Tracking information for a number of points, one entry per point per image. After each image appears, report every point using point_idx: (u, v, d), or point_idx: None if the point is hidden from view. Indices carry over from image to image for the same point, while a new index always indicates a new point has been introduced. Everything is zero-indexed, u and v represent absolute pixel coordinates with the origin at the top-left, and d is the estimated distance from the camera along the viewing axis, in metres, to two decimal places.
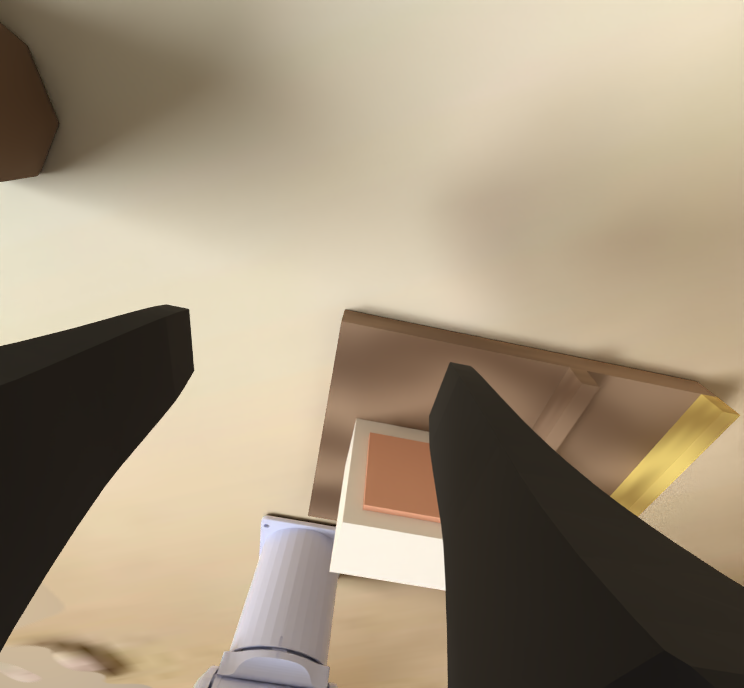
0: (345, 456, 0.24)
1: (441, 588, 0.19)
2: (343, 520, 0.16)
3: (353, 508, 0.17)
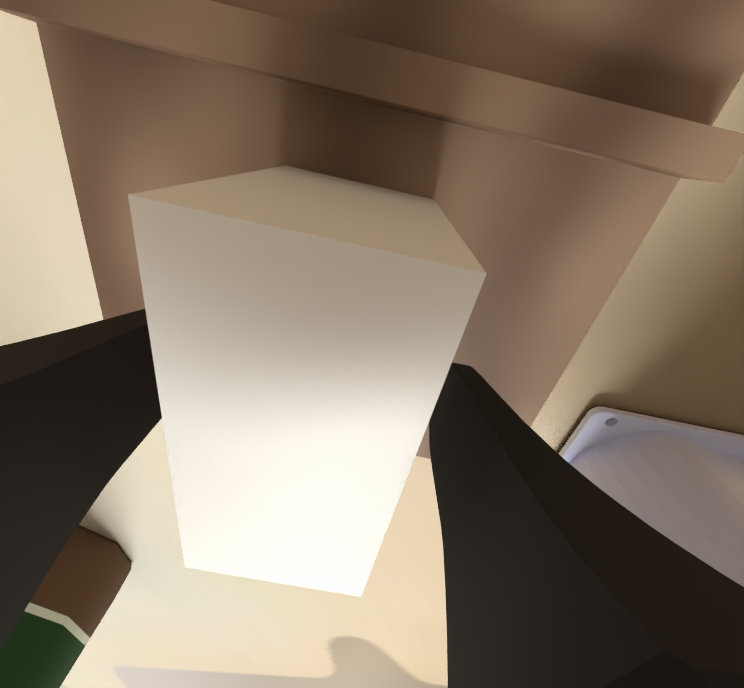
0: None
1: (419, 427, 0.06)
2: None
3: None
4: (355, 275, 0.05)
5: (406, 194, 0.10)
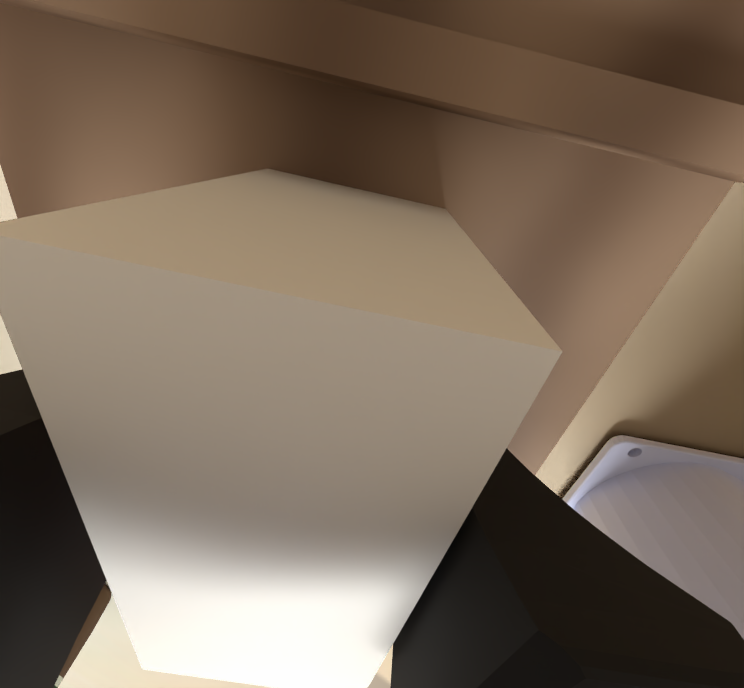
0: None
1: (442, 540, 0.04)
2: None
3: None
4: (351, 352, 0.03)
5: (413, 203, 0.08)
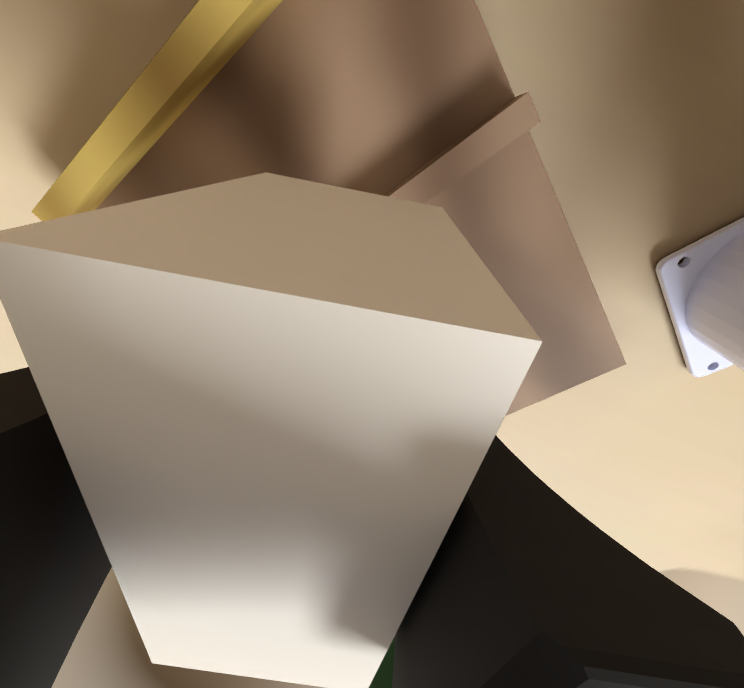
0: None
1: (437, 530, 0.04)
2: None
3: None
4: (339, 346, 0.03)
5: (409, 202, 0.09)
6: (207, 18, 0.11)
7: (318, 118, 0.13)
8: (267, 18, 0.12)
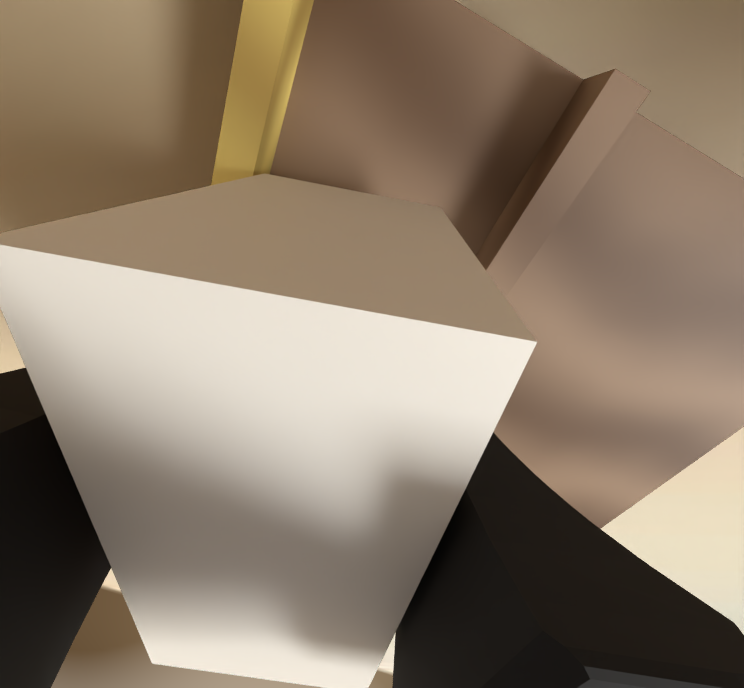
0: (689, 427, 0.15)
1: (434, 531, 0.04)
2: None
3: None
4: (334, 347, 0.03)
5: (407, 203, 0.09)
6: None
7: None
8: None
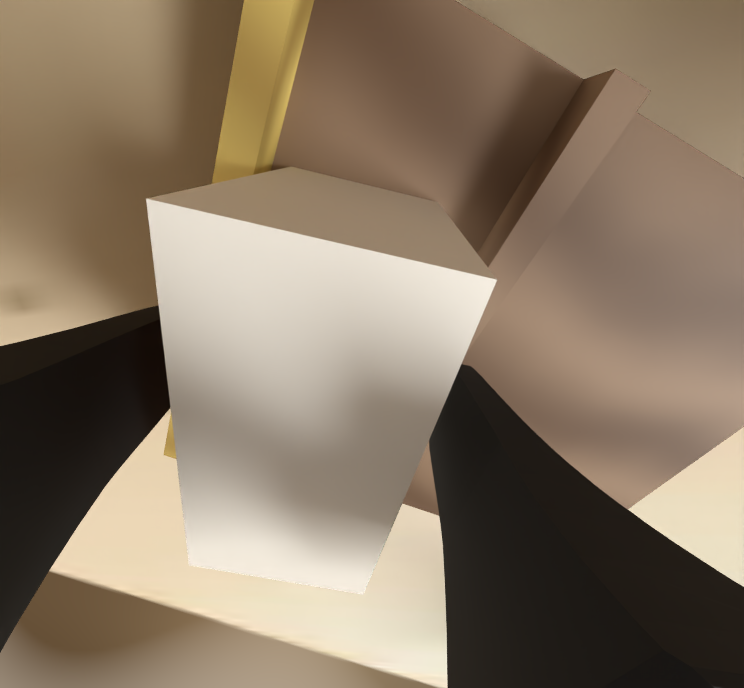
0: (689, 427, 0.15)
1: (426, 428, 0.06)
2: None
3: None
4: (368, 280, 0.05)
5: (411, 197, 0.10)
6: None
7: None
8: None
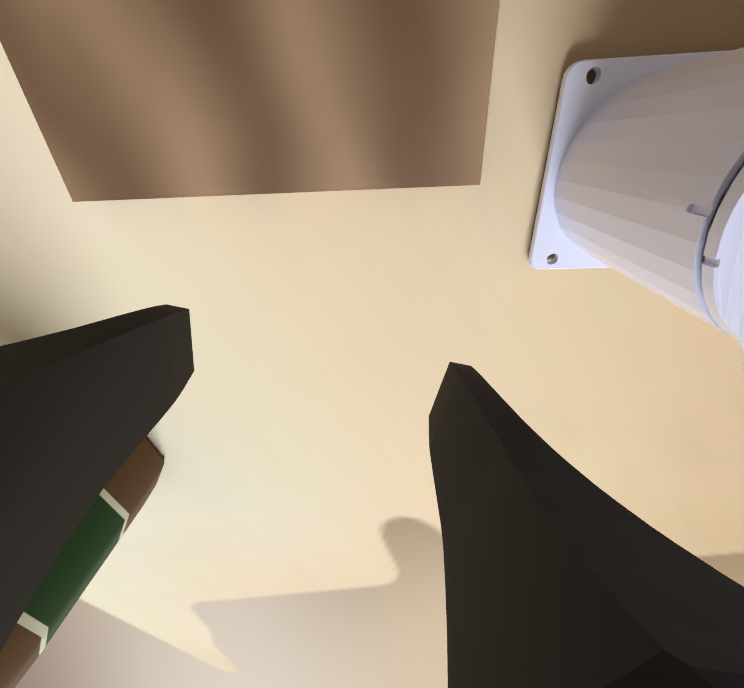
0: (292, 141, 0.14)
1: None
2: None
3: None
4: None
5: None
6: None
7: None
8: None
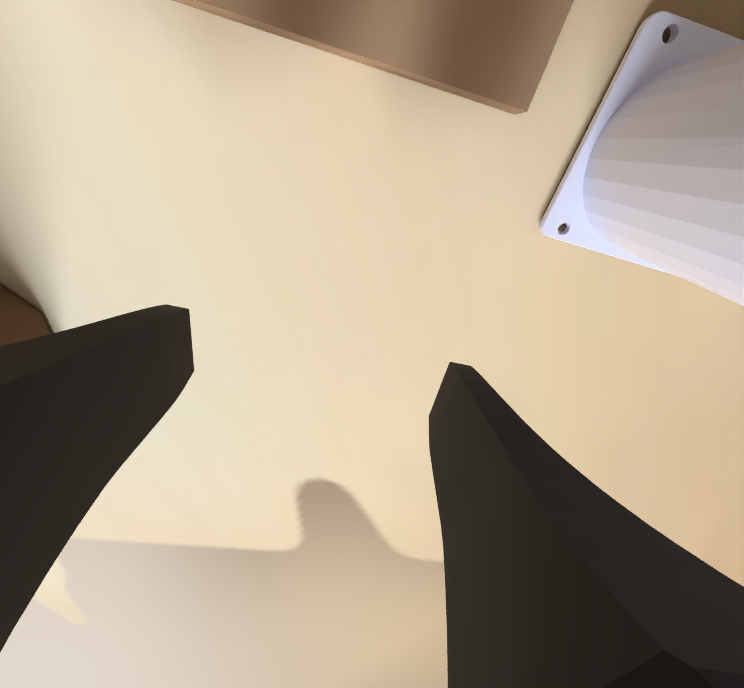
0: None
1: None
2: None
3: None
4: None
5: None
6: None
7: None
8: None
